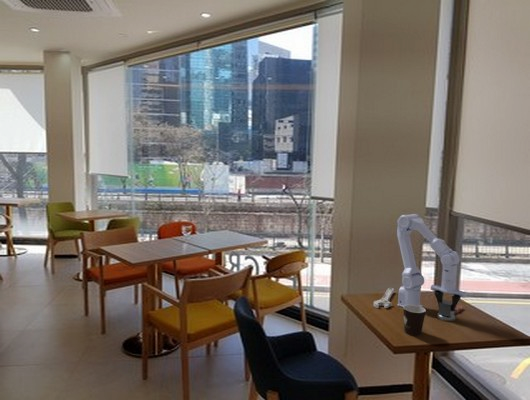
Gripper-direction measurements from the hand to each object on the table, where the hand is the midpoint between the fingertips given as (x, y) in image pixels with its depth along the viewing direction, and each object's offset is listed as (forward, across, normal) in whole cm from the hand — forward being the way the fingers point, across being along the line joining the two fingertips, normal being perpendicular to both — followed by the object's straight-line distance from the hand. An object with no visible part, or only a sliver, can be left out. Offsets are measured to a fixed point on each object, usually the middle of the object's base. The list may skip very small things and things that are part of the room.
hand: (446, 309), depth 184 cm
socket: (+2, 0, 0) cm, 2 cm away
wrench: (+3, -27, +5) cm, 28 cm away
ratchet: (+4, 0, +7) cm, 8 cm away
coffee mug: (+4, -5, -24) cm, 25 cm away
